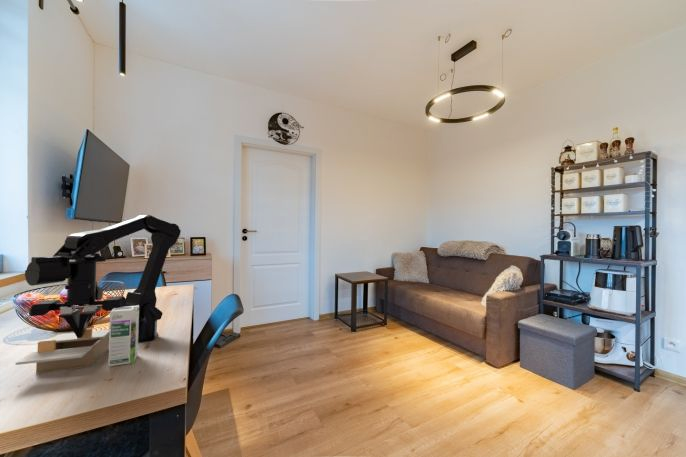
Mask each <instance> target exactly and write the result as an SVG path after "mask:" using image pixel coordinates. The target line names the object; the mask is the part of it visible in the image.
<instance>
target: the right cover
mask: <svg viewBox="0 0 686 457" xmlns="http://www.w3.org/2000/svg"><path fill="white" fill-rule="evenodd" d="M109 331H110V329H103V330H102V329H101V330H93V327H89V328H88V327H87V328H86V330H85V333H84V335H83V337H81V338H77V336H76V335H75V333H74V332H69V333H60V334H59V335H57V336H56V337H54V338H52V339H51V340H56V343H59V342H69V341H80V340H90V339H101V338H104V337H105V336H106V335H108V334H109Z"/></svg>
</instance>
